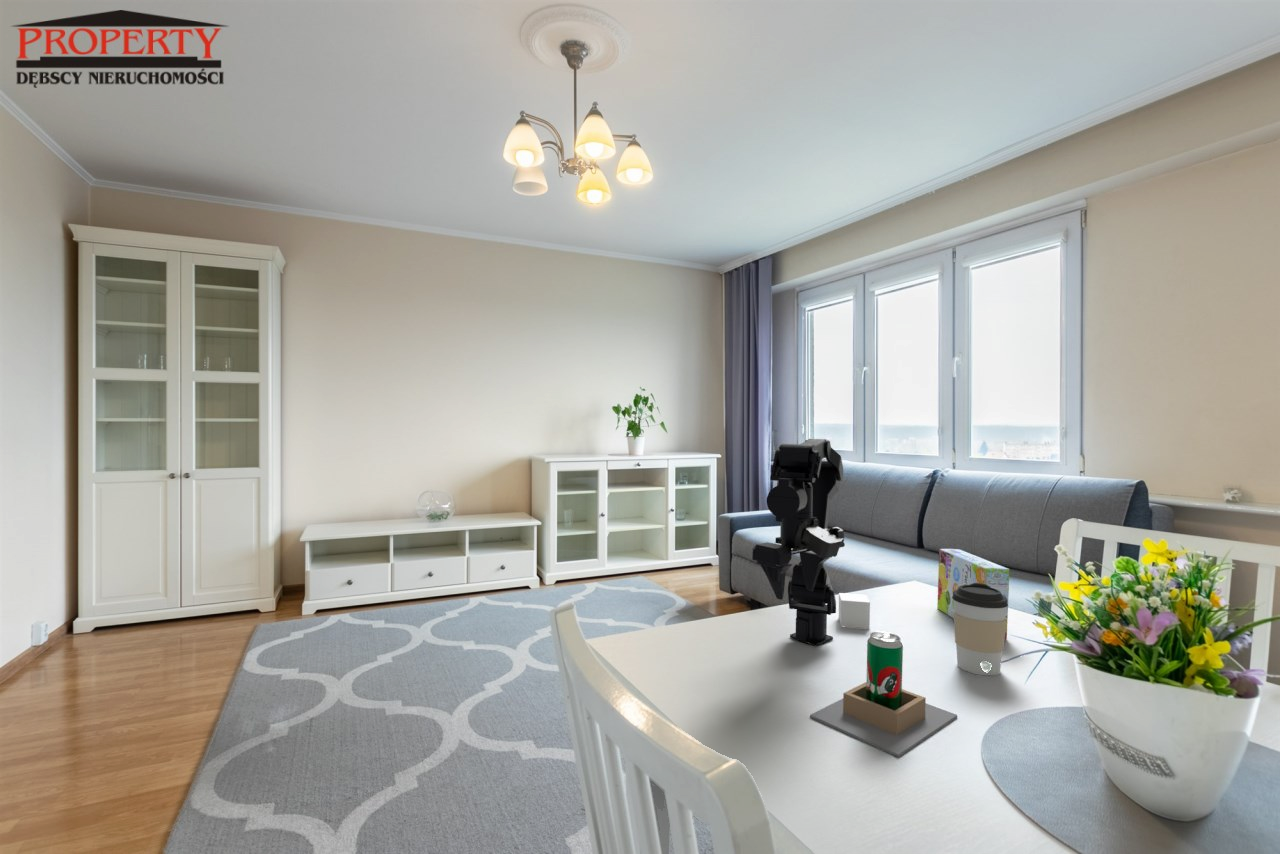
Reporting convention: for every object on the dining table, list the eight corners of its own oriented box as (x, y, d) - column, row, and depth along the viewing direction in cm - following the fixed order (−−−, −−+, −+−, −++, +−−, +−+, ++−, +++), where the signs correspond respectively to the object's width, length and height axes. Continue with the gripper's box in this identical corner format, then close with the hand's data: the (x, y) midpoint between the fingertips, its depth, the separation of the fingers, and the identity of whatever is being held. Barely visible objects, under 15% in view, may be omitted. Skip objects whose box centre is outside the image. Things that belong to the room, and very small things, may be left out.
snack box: (1010, 640, 127) (1011, 568, 127) (983, 639, 127) (984, 568, 127) (958, 608, 148) (959, 547, 148) (935, 608, 148) (936, 547, 148)
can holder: (872, 685, 104) (872, 666, 103) (957, 717, 93) (957, 695, 93) (810, 717, 92) (810, 695, 92) (898, 757, 81) (898, 732, 81)
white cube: (838, 618, 140) (838, 592, 140) (865, 621, 138) (866, 594, 138) (840, 627, 134) (841, 600, 134) (869, 629, 132) (869, 602, 132)
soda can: (907, 716, 92) (909, 637, 92) (889, 725, 89) (891, 644, 89) (877, 703, 96) (879, 628, 96) (858, 711, 93) (860, 634, 93)
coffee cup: (1006, 682, 106) (1007, 597, 106) (948, 670, 110) (950, 589, 110) (1007, 665, 113) (1008, 585, 113) (953, 654, 118) (954, 578, 118)
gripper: (802, 521, 100) (801, 615, 100) (863, 512, 112) (862, 596, 112) (750, 513, 109) (749, 599, 109) (812, 505, 121) (810, 583, 121)
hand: (795, 594), depth 112 cm, fingers open, 9 cm apart
